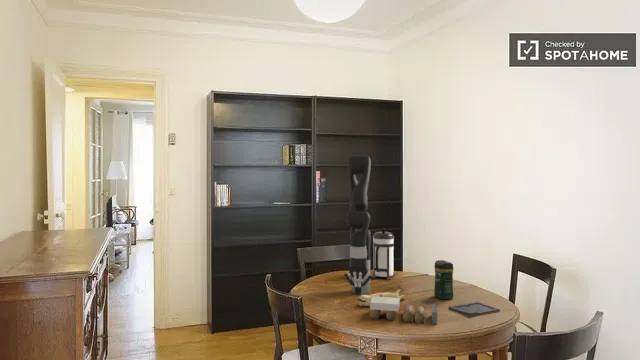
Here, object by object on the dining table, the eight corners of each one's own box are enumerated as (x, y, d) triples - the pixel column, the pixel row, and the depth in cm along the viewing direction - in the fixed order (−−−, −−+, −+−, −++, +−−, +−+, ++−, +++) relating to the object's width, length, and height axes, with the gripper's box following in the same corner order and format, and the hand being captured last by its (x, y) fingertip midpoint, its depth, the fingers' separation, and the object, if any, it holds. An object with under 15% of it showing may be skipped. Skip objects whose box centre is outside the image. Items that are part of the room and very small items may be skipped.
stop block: (432, 324, 186) (432, 312, 186) (431, 315, 197) (431, 304, 197) (437, 324, 185) (437, 312, 185) (436, 315, 197) (436, 304, 197)
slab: (370, 309, 193) (370, 302, 193) (373, 302, 203) (373, 296, 203) (398, 311, 190) (398, 304, 190) (399, 304, 200) (399, 298, 200)
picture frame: (470, 318, 195) (499, 312, 203) (470, 313, 195) (499, 308, 203) (448, 309, 207) (477, 304, 215) (448, 305, 207) (477, 300, 215)
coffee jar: (455, 299, 223) (456, 262, 222) (441, 300, 220) (442, 263, 220) (445, 294, 232) (445, 258, 232) (431, 295, 230) (432, 259, 230)
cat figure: (393, 300, 226) (352, 302, 214) (395, 282, 227) (354, 284, 214) (406, 305, 218) (364, 308, 205) (408, 287, 218) (366, 289, 206)
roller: (415, 324, 187) (413, 315, 187) (416, 315, 199) (414, 306, 199) (425, 322, 186) (422, 313, 187) (425, 314, 198) (423, 305, 198)
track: (369, 319, 192) (369, 309, 192) (373, 310, 204) (373, 302, 204) (425, 323, 186) (425, 314, 186) (425, 314, 198) (425, 305, 198)
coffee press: (365, 275, 275) (365, 226, 274) (390, 274, 279) (390, 226, 278) (375, 282, 258) (376, 230, 257) (401, 280, 262) (401, 229, 261)
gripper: (342, 256, 197) (342, 296, 197) (372, 258, 194) (371, 298, 194) (345, 254, 204) (345, 292, 204) (374, 255, 201) (374, 293, 201)
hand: (358, 294), depth 199 cm, fingers closed
